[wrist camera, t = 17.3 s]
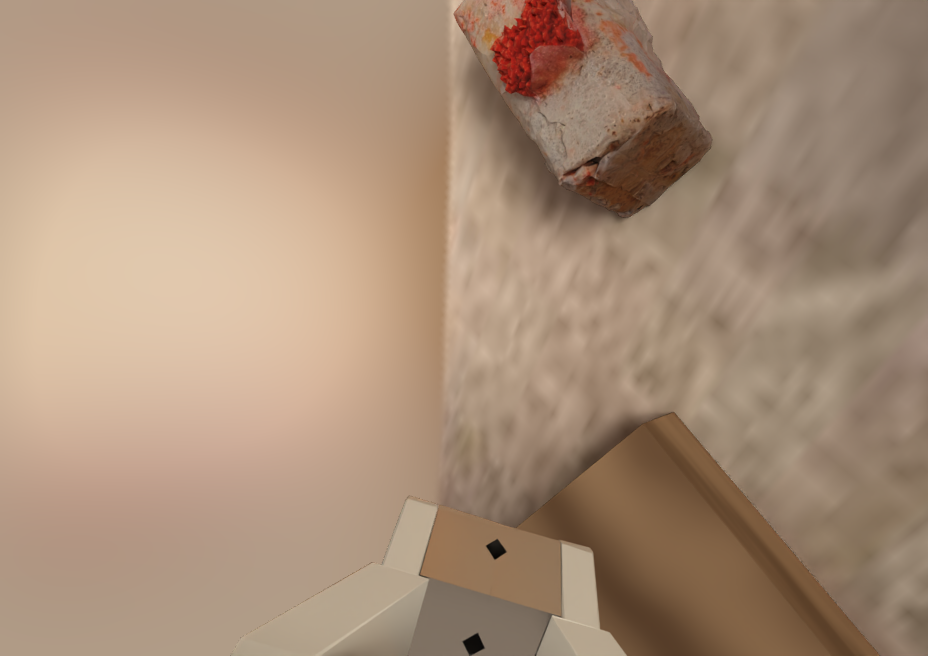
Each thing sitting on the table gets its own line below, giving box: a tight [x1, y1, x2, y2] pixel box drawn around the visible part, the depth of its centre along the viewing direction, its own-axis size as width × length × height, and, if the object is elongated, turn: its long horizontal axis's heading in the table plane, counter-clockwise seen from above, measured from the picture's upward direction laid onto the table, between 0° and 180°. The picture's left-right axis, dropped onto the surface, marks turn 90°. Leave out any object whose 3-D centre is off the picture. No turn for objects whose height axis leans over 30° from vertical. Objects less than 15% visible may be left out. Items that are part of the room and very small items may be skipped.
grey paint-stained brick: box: [454, 0, 712, 217], centre depth 32 cm, size 14×8×10 cm, turn 34°
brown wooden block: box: [516, 412, 880, 656], centre depth 31 cm, size 11×18×5 cm, turn 41°
